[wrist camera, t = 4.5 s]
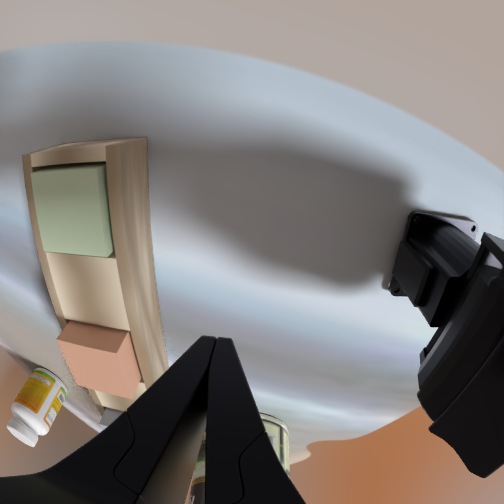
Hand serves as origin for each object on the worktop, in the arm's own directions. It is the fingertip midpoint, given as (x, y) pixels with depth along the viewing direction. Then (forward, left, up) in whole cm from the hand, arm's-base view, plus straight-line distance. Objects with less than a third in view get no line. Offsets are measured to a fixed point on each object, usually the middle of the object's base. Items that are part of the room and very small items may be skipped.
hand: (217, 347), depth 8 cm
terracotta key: (+10, +10, -10) cm, 17 cm away
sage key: (+10, -1, -11) cm, 15 cm away
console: (+10, +10, -12) cm, 18 cm away
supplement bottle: (+24, +23, -12) cm, 35 cm away
